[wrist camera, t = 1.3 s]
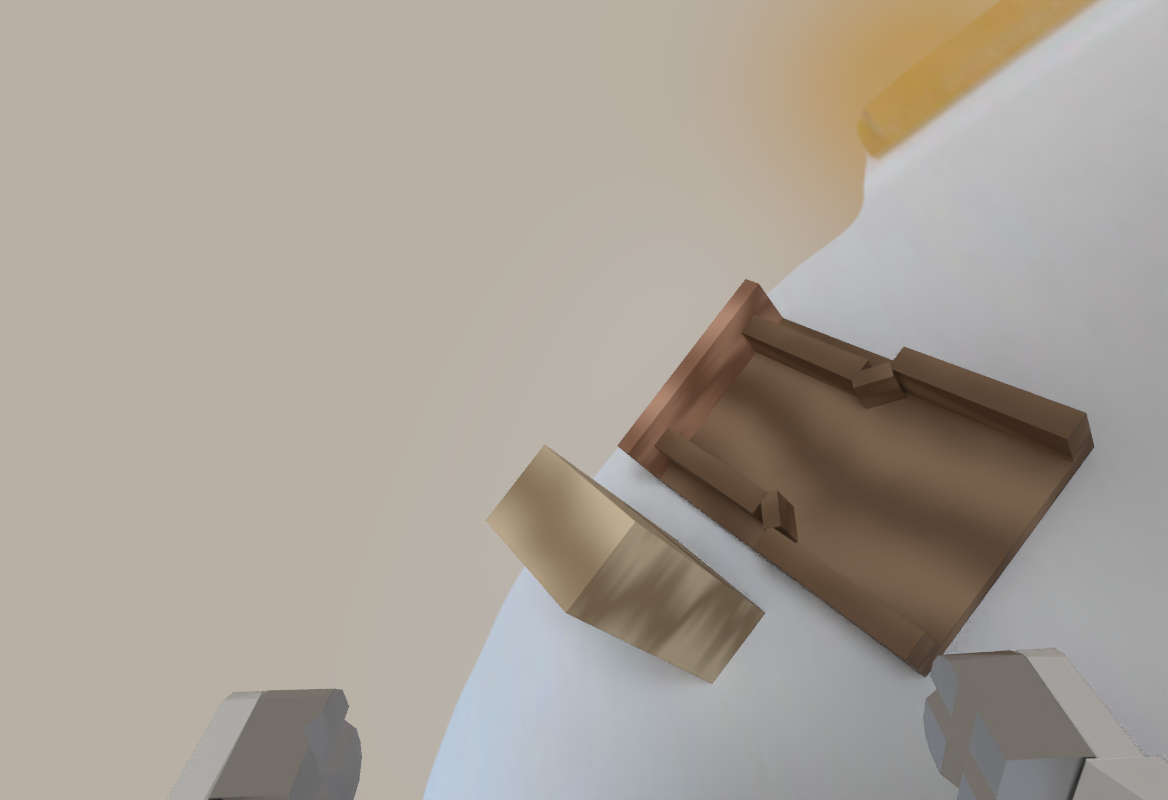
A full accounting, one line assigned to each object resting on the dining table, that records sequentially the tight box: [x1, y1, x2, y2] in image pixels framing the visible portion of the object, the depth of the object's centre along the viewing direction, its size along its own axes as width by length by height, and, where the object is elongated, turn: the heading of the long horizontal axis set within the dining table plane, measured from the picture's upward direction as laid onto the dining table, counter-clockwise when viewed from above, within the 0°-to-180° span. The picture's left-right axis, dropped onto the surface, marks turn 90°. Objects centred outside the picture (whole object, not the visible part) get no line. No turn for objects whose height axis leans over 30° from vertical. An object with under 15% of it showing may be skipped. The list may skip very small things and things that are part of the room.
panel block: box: [486, 445, 765, 684], centre depth 39 cm, size 5×8×14 cm, turn 43°
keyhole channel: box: [618, 279, 1094, 677], centre depth 41 cm, size 14×21×5 cm, turn 43°
